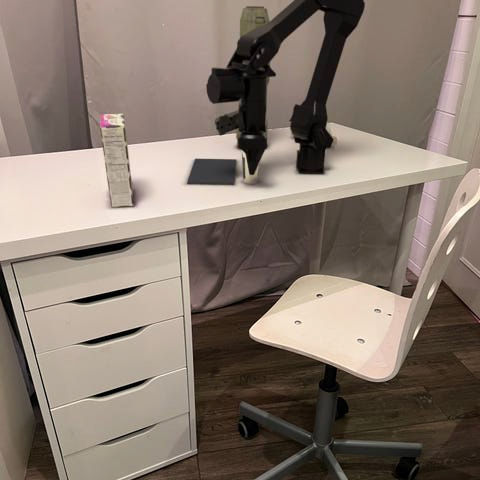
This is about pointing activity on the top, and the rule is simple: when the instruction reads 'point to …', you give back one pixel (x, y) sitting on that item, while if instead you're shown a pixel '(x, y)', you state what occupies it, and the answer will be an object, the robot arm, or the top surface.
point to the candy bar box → (116, 160)
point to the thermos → (249, 21)
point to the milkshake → (246, 177)
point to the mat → (213, 172)
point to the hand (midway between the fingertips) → (251, 170)
